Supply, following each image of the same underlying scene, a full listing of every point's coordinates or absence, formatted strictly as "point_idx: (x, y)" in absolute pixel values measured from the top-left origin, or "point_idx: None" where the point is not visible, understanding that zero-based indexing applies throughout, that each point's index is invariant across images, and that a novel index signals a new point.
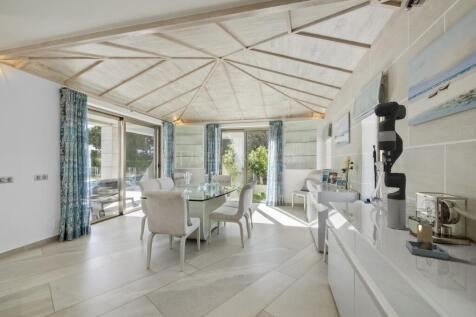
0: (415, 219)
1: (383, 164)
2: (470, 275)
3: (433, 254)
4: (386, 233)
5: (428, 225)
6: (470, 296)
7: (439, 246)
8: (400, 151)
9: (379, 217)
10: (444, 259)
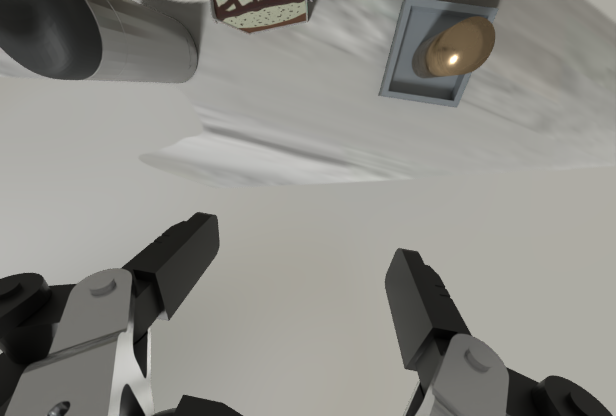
0: (262, 5)
1: (149, 324)
2: (592, 8)
3: None
4: (270, 113)
5: (470, 30)
6: None
7: (428, 1)
8: None
9: None
10: None
